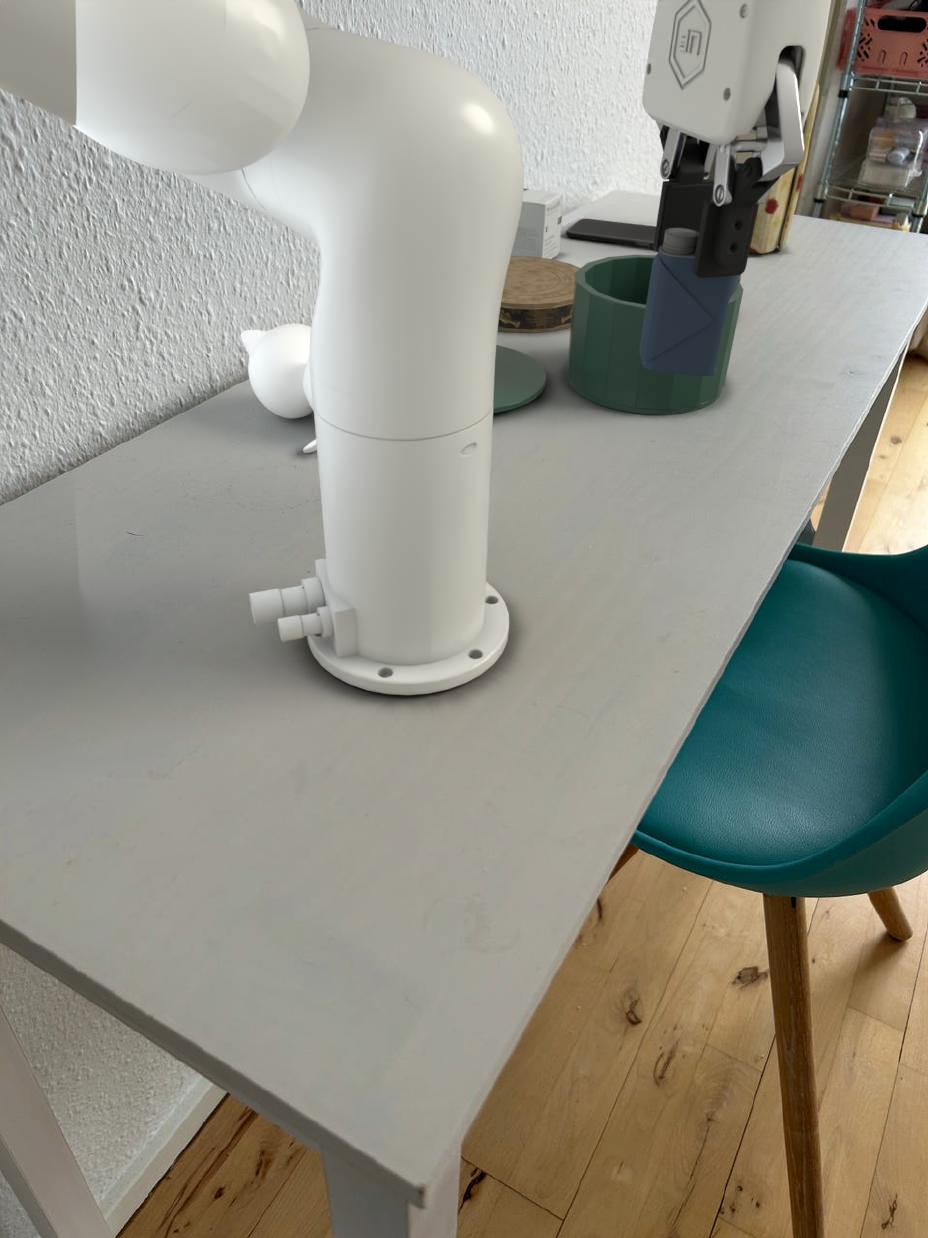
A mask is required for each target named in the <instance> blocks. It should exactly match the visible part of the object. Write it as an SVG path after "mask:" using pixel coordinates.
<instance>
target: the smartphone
mask: <svg viewBox="0 0 928 1238" xmlns="http://www.w3.org/2000/svg"><path fill="white" fill-rule="evenodd" d="M655 231H656V225H646V224H638V223H629V222H620V221H611V220H604V219H603V220H602V219H596V218H595V219H594V218H580V219H578V220H577V221H576V222H575V223H573V224H572V225H571V226H570V227H568V229H567V230H566V236H567V237H569V238H575V239H582V240H583V239H584V240H591V241H599V242H606V243H607V242H608V243H617V244H623V245H624V244H626V245H630V246H631V245H632V246H641V247H647V248H654V247H653V244H654V238H655Z"/></svg>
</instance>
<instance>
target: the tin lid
mask: <svg viewBox="0 0 928 1238" xmlns="http://www.w3.org/2000/svg"><path fill="white" fill-rule="evenodd" d="M546 382H547V375H546V371H545V369H544V368H543V366H542V365H541V364H540V363H539V362H538V361H537V360H535V359H534V358H532V357H531V356H529V355H528V354H525V353H523V352H521V351H520V350H516V349H513V348H510V347H506V346H502V345H500V344H496V357H495V375H494V397H493V414H497V413H502V412H506V411H510V410H511V411H512V410H514V409H516V408H517V409H518V408H520V407H522V406H525V405H527V404H529V403H531V402H533V400H535V399H537V398H538V397H539V396H540V395H541V394H542V393H543V391H544V390H545V387H546Z"/></svg>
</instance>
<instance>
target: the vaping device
mask: <svg viewBox="0 0 928 1238" xmlns="http://www.w3.org/2000/svg"><path fill="white" fill-rule="evenodd" d="M743 163H744V162H736V171H737V170H738V169H739V168H740V166H741V165H742V164H743ZM712 202H714V200H713V199H712ZM698 236H699V233H698V232H697V231H694V230H691V229H686V228H669V229H667V230H665V235H664V242H663V245H661V246H660V247H659V252H657V253H656V254H655V255H656V256H655V258H654V260H653V264H652V271H651V277H650V284H649V290H648V297H647V303H646V310H645V316H644V323H643V329H642V336H641V342H640V349H639V350H640V356H641V359H642V361H641V363H642V365H643V366H644V367H645V368H647V369H649V370H652V371H659V372H668V373H677V374H686V375H694V376H713V375H714V374H715V372H716V361H717V356H718V351H719V346H720V342H721V337H722V332H723V327H724V322H725V317H726V313H727V308H728V303H729V300H730V298H731V296H732V295H733V294H734V292H735V291H736V290H737V288H738V284H739V283H738V282H740V283H741V280H742V274H741V275H735V276H723V277H711V278H699V277H698V276H696V275H694V273H693V264H694V259H695V253H696V247H697V242H698Z"/></svg>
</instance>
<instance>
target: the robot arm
mask: <svg viewBox="0 0 928 1238" xmlns="http://www.w3.org/2000/svg"><path fill="white" fill-rule="evenodd" d="M831 4H832V0H657V2H656V8H655V13H654V18H653V24H652V31H651V36H650V42H649V48H648V53H647V58H646V59H647V60H646V67H645V71H644V72H645V73H644V78H643V79H644V80H643V86H642V96H641V104H642V106H643V107H642V108H643V109H644V111H645V112H646V114H647V115H648V116H649V117H650V118H651V119H652V120H653V121H655V123H656V125H657V128H658V130H659V139H660V144H661V148H662V152H663V153H662V156H661V161H660V164H659V165H660V167H659V172H660V177H661V179H663V181H662V183H661V184H662V185H661V191H660V198H659V205H658V211H657V219H656V225H655V226H656V231H655V238H654V244H653V247H652V248H653V249H654V251H656V252H657V253H658V252H659V247H660V246H661V245H663V242H664V235H665V230H667V229H669V228H686V229H691V230H694V231H697V232H698V233H699V236H698V242H697V247H696V253H695V259H694V264H693V273H694V275H696V276H698V277H699V278H711V277H723V276H735V275H741V276H742V274H744V272H745V271H746V268H747V264H748V259H749V255H750V252H749V250H750V246H751V241H752V236H753V231H754V227H755V222H756V217H757V212H758V207H759V204H763V203H764V202H765V201H766V200H767V198H768V194H769V189H770V188H771V187H772V186H773V185H774V184H775V183H776V182H777V181H778V179H779V178H780V176H781V175H784V174H785V173H787V172H788V171H790V170H791V169H793V168H794V167H796V166H797V165H799V164H800V163H801V162H802V161H803V159H804V156H805V145H804V136H803V126H804V123H805V120H806V118H807V115H808V111H809V108H810V104H811V101H812V97H813V93H814V89H815V85H816V82H817V80H818V75H819V70H820V67H821V66H820V65H821V62H822V56H823V51H824V46H825V40H826V35H827V29H828V22H829V18H830V10H831ZM0 89H1V90H3V91H4V92H7V93H9V94H11V95H13V96H15V97H18V98H19V99H21V100H24V101H25V102H27V103H30V104H31V105H34V106H37V107H38V108H40V109H42V110H44V111H46V112H48V113H50V114H52V115H54V116H56V117H58V118H60V119H62V120H64V121H65V122H66V123H67V124H69V125H70V126H72V127H73V128H75V129H76V130H78V131H79V132H81V133H82V134H84V135H85V136H87V137H88V138H89V139H91V140H93V141H94V142H96V143H98V144H99V145H101V146H102V147H105V148H106V149H108V150H109V151H111V152H113V153H115V154H116V155H119V156H121V157H123V158H125V159H128V160H130V161H133V162H134V163H137V164H140V165H142V166H145V167H147V168H148V167H149V168H152V169H155V170H160V171H163V172H167V173H171V174H178V175H180V176H182V177H184V178H186V179H188V180H190V181H192V182H195V183H197V184H198V185H201V186H203V187H205V188H207V189H210V190H212V191H214V192H215V193H218V194H220V195H223V196H225V197H227V198H229V199H231V200H233V201H236V202H238V203H239V204H242V205H245V206H247V207H248V208H250V209H253V210H255V211H257V212H259V213H260V214H263V215H265V216H266V217H268V218H270V219H272V220H273V221H275V222H278V223H279V224H281V225H283V226H284V227H286V228H288V229H290V230H291V231H293V232H294V233H296V234H297V235H299V236H301V237H302V238H305V239H306V240H307V241H308V242H310V243H311V244H312V245H314V246H315V247H317V249H318V251H319V252H318V253H319V261H320V262H319V279H318V287H317V293H316V298H315V303H314V308H313V312H312V318H311V325H310V327H311V332H310V378H311V391H312V403H313V408H314V412H313V416H314V417H313V419H314V431H315V439H316V442H317V450H316V454H317V465H318V473H319V474H318V478H319V479H318V480H319V489H320V500H321V501H320V502H321V512H322V513H321V514H322V515H321V516H322V525H323V526H322V527H323V538H324V551H325V558H318V559H315V560H314V566H315V567H314V568H315V576H312V577H308V578H302V579H301V580H300V585H296V586H290V587H285V588H272V589H267V590H260V591H255V592H250V593H248V594H249V602H250V603H249V604H250V609H251V613H252V618H253V623H254V625H261V624H266V623H273V622H277V628H278V632H279V637H280V641H281V643H282V642H288V641H295V640H299V639H304V638H305V637H307V644H308V646H309V649H310V651H311V653H312V656H313V657H314V658H315V660H316V661H317V662H318V664H319V665H320V666H321V667H322V668H323V669H325V670H326V671H328V673H330V674H331V675H332V676H333V677H335V678H337V679H339V680H340V681H342V682H344V683H346V684H348V685H350V686H353V687H356V688H360V689H363V690H366V691H367V692H369V691H370V692H374V693H379V694H385V695H396V696H397V695H398V696H415V695H427V694H432V693H433V694H434V693H438V692H442V691H447V690H450V689H454V688H456V687H458V686H462V685H464V684H466V683H468V682H470V681H472V680H475V678H477V677H480V676H481V675H483V674H484V673H485V672H486V671H488V670H489V669H490V668H491V667H492V666H494V665H495V663H497V661H498V660H499V658H500V657H501V656H502V654H503V653H504V651H505V649H506V646H507V643H508V641H509V632H510V613H509V610H508V607H507V605H506V602H505V600H504V598H503V597H502V595H500V593H499V592H498V591H497V590H496V589H495V588H494V586H492V585H491V584H490V583H489V582H488V581H487V568H488V567H487V566H488V541H489V521H490V520H489V517H490V496H491V495H490V494H491V474H492V473H491V470H492V449H493V447H492V446H493V423H494V413H493V397H494V375H495V357H496V345H497V339H498V331H499V330H498V322H499V313H500V306H501V300H502V293H503V288H504V283H505V278H506V273H507V269H508V265H509V261H510V257H511V253H512V249H513V245H514V241H515V237H516V233H517V228H518V224H519V219H520V214H521V207H522V201H523V193H524V188H525V169H524V167H525V166H524V157H523V152H522V146H521V143H520V140H519V137H518V133H517V130H516V128H515V125H514V123H513V121H512V119H511V117H510V115H509V113H508V111H507V110H506V108H505V106H504V104H503V103H502V102H501V101H500V99H499V98H498V97H497V96H496V94H495V93H494V92H493V91H492V90H491V88H489V86H488V85H487V84H486V83H485V82H483V81H482V80H481V79H480V78H479V77H477V76H476V75H475V74H474V73H473V72H471V71H469V70H467V68H465V67H463V66H461V65H460V64H459V63H456V62H455V61H453V60H451V59H449V58H446V57H444V56H441V55H439V54H437V53H434V52H430V51H427V50H422V49H419V48H415V47H411V46H407V45H403V44H399V43H397V42H392V41H388V40H385V39H382V38H381V39H380V38H378V37H368V36H365V35H360V34H357V33H353V32H349V31H345V30H341V29H338V28H336V27H334V26H332V25H330V24H328V23H327V22H324V21H322V20H320V19H319V18H318V17H316V16H314V15H313V14H311V13H309V12H308V11H306V10H305V9H303V8H301V7H300V6H298V5H297V3H296V1H295V0H0ZM750 134H753V135H755V136H756V139H755V138H745V139H737V137H747V136H748V135H750ZM738 153H739V154H740V153H751V155H752V157H751V156H750V157H748V158H747V159H745V161H743V162H742V163H743V164H742V165H741V166H740V168H739V169H738V170H737V171H736V163H738ZM715 155H716V156H715ZM714 160H715V167H714V178H713V179H712V178H707V177H709V175H710V173H711V170H712V166H713V163H714ZM713 200H714V202H713Z"/></svg>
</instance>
